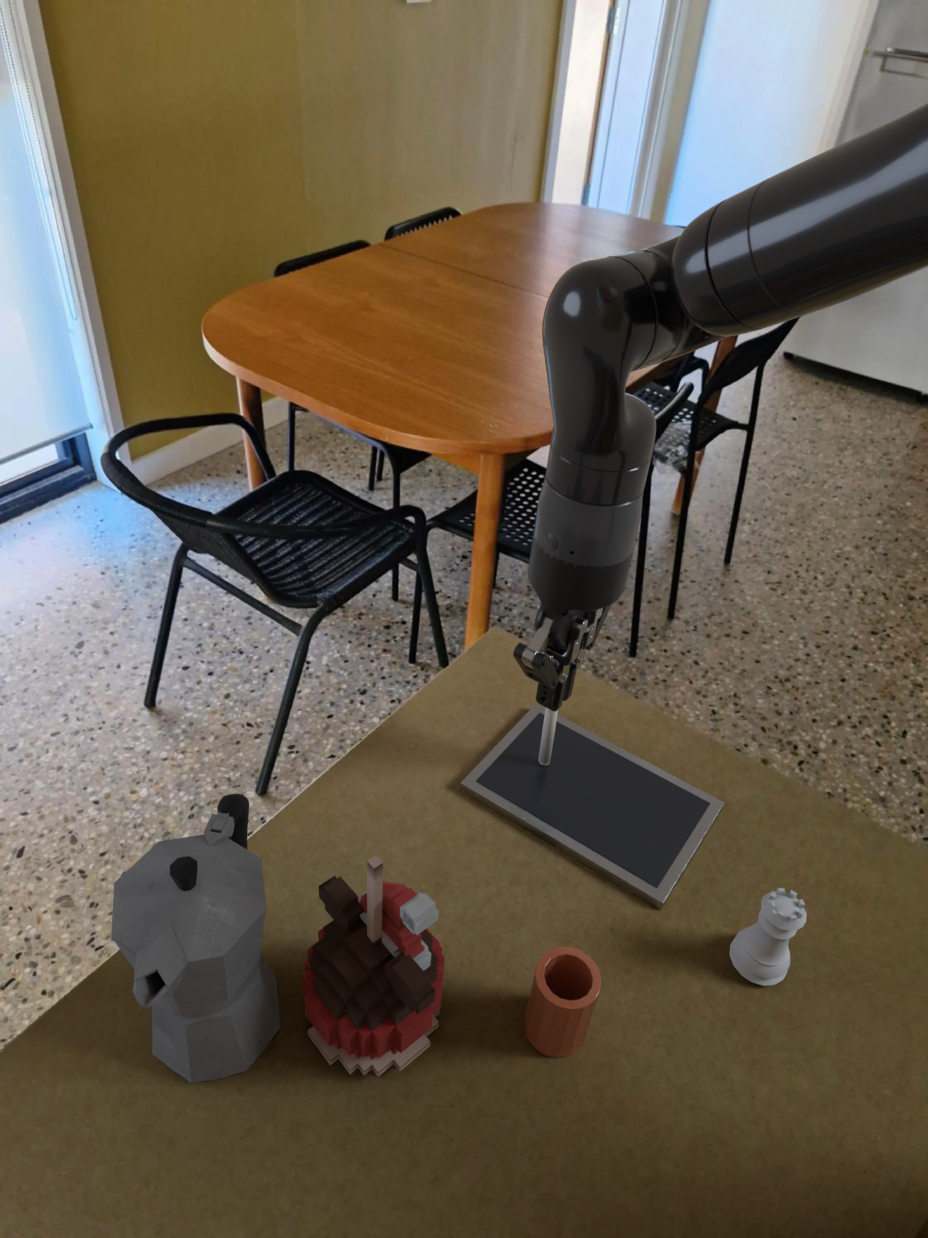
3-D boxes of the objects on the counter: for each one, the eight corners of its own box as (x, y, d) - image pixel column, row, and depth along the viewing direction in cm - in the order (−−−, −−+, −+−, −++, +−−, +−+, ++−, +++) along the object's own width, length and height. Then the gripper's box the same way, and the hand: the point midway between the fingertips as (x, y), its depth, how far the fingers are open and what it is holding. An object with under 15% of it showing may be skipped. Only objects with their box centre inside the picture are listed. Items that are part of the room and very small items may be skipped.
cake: (277, 997, 64) (257, 844, 53) (380, 923, 69) (382, 769, 58) (366, 1118, 58) (365, 975, 47) (471, 1027, 63) (494, 879, 52)
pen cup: (596, 1021, 64) (612, 971, 60) (565, 1071, 61) (580, 1022, 57) (544, 986, 66) (556, 934, 62) (512, 1033, 63) (523, 982, 59)
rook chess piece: (716, 957, 69) (743, 898, 64) (750, 925, 71) (779, 866, 66) (764, 1001, 66) (796, 943, 61) (797, 966, 69) (831, 908, 64)
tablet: (722, 809, 80) (725, 801, 80) (660, 910, 72) (663, 902, 71) (535, 710, 89) (536, 702, 88) (459, 789, 80) (460, 781, 79)
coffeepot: (250, 1130, 57) (221, 987, 46) (110, 1103, 58) (47, 956, 46) (316, 919, 69) (305, 764, 58) (199, 899, 70) (166, 742, 58)
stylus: (552, 762, 82) (568, 655, 74) (545, 769, 81) (562, 662, 73) (541, 757, 82) (557, 649, 74) (535, 764, 82) (550, 656, 73)
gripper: (584, 596, 60) (550, 767, 71) (669, 513, 69) (627, 677, 80) (492, 553, 63) (472, 724, 74) (585, 480, 72) (555, 642, 83)
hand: (553, 699), depth 77 cm, fingers closed on stylus, 1 cm apart
